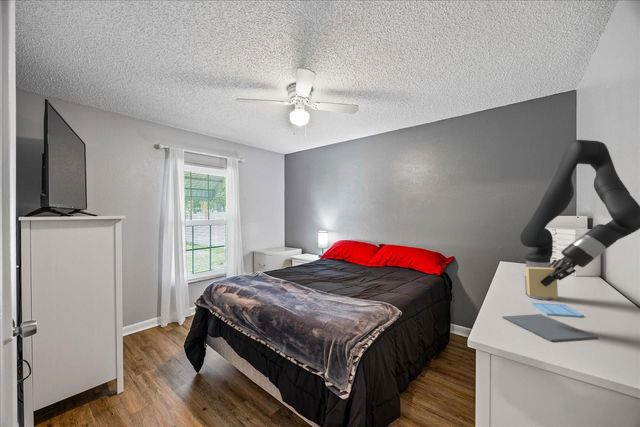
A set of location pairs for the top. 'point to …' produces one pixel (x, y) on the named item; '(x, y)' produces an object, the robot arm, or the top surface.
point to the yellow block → (535, 285)
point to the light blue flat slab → (557, 310)
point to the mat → (549, 328)
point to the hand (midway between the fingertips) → (541, 283)
